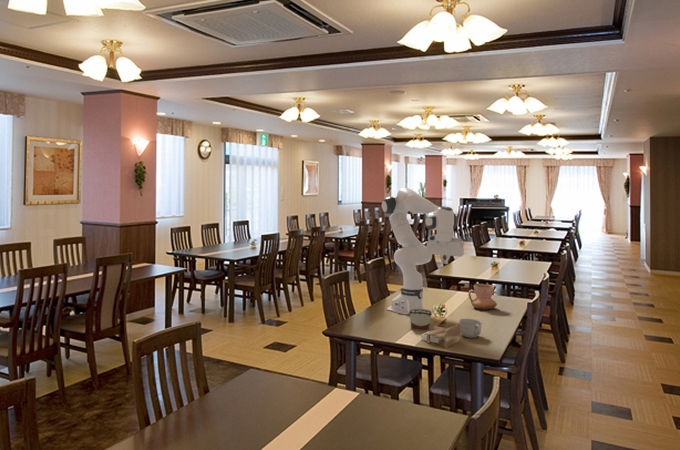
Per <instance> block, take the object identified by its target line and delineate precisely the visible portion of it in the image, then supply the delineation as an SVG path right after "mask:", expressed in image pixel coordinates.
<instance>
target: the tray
mask: <svg viewBox="0 0 680 450" xmlns="http://www.w3.org/2000/svg"><path fill="white" fill-rule="evenodd" d="M430 331H431V330H429V331H425V332H424V333H422V334H420V339H421V341H426V342H427V333H428V332H430ZM439 340H444V341H445V338H441V337H436V336H431V335H430V343H435V344H439Z"/></svg>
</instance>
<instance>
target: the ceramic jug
mask: <svg viewBox="0 0 680 450" xmlns="http://www.w3.org/2000/svg"><path fill="white" fill-rule="evenodd" d="M494 290H495V286H494V285H492V284H491V285H490V284H474V285H473V289H469V291H468V292H467V293H468V294H467V296H468V298H469V300H470V303H471V306H472V307H473V308H474V309H478V310H483V311H489V310H493V309H494V308H496V307H497V305H498V303H497V302H496V300H494V299H492V296H493V295H494V294H496V295H498V293H499V291H497V290H496V291H494ZM471 293H473V294H475V296H476V297H475V299H473V298H472V297H471V296H472V295H471Z"/></svg>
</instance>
